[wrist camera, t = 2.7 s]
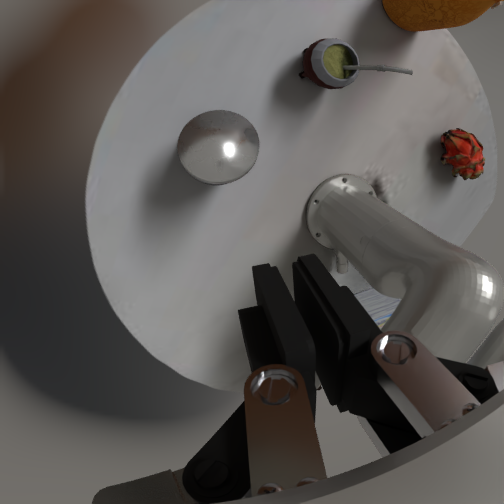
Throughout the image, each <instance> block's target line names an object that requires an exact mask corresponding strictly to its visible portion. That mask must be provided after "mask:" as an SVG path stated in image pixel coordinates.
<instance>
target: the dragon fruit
mask: <svg viewBox="0 0 504 504" xmlns="http://www.w3.org/2000/svg"><path fill="white" fill-rule="evenodd" d="M456 129H457V130H448V132H445V133H443V135H442V136H441V145H442V147H443V146H444V144H445V146H446V151H447V153H446V154H442V157H441V162H442V164H443V165H445V163H447V164H451V165H453V166H454V167H453V169H452V175H453V176H454V177H457V176H455V174H457V173H459V175H460V176H462V177H463V179H464V180H466V179H468V178H470V179H476V178H478V177H479V176H480V175H481V173H482V174H483V171H484V170H483V166H484V164H485V162H484V160H485V158H483V155H482V151H483V146H482V144H481V143H480V142H479V141H478V140H477V138H476V137H475V136H474V135H473V134H472V133H468V132H466V131H464V130H462V129H459V128H456ZM460 130H461V131H460ZM443 148H444V147H443Z"/></svg>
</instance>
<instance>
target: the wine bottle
mask: <svg viewBox="0 0 504 504" xmlns="http://www.w3.org/2000/svg"><path fill="white" fill-rule="evenodd" d="M502 1H504V0H382V2H383V6H384V9H385V11H386V13H387V15H388V16H389V17H390V19H391V20H392V21H393V22H394V23H395V24H396V25H398V26H399V27H401V28H402V29H405V30H407V31H413V32H416V31H427V30H435V29H444V28H451V27H457V26H462V25H465V24H467V23H469V22H471V21H473V20H475V19H476V18H478V17H479V16H480V15H482V14H483V13H484V12H485V11H487V10H488V9H489V8H490V7H491V8H492V9H494V8H496V7H499V6H502Z"/></svg>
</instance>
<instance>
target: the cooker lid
mask: <svg viewBox="0 0 504 504" xmlns="http://www.w3.org/2000/svg"><path fill="white" fill-rule="evenodd" d="M177 149H178V155H179V158H180V161H181V164H182V166H183V167H184V169H185V170H186V171H187V172H188V173H189V174H190V175H191V176H192V177H194V178H195V179H197V180H199V181H201V182H204V183H208V184H227V183H231V182H234V181H236V180H238V179H240V178H242V177H243V176H245V175H246V174H247V173H248V172H249V171H250V170H251V169H252V167H253V166H254V164H255V162H256V160H257V156H258V152H259V137H258V134H257V132H256V130H255V128H254V127H253V125H252V124H251V123H250V122H249V121H248V120H247V119H246V118H244V117H243V116H241V115H239V114H237V113H234V112H231V111H225V110H214V111H209V112H205V113H202V114H200V115H198V116H196V117H195V118H193V119H192V120H190V121H189V122H188V123H187V124H186V125H185V127H184V128H183V130H182V131H181V133H180V136H179V139H178V145H177Z"/></svg>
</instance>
